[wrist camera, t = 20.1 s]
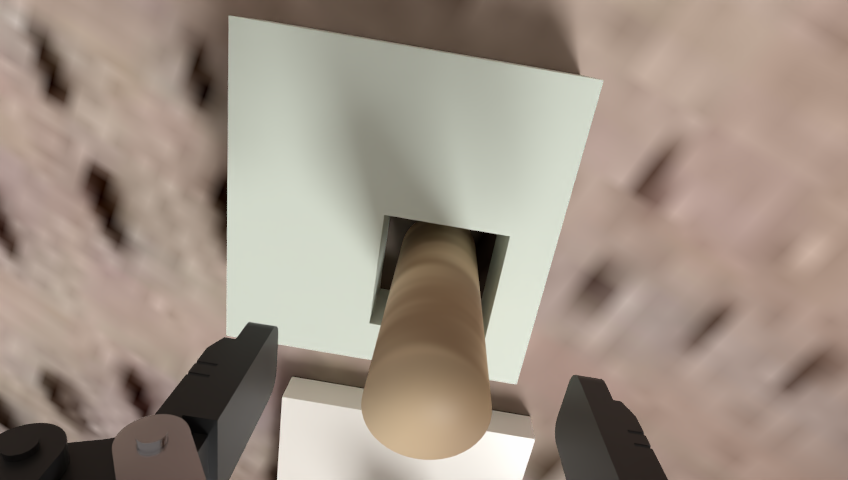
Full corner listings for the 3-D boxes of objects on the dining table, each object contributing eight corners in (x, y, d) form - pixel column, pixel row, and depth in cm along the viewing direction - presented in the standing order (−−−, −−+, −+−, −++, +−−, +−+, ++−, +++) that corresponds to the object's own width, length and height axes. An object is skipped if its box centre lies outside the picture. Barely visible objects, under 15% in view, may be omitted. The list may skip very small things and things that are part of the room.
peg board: (254, 299, 23) (226, 335, 20) (263, 19, 18) (228, 15, 15) (508, 342, 23) (516, 384, 20) (580, 74, 18) (603, 80, 15)
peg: (397, 276, 22) (354, 448, 12) (407, 209, 21) (368, 344, 11) (467, 288, 22) (477, 469, 13) (482, 222, 21) (504, 367, 11)
